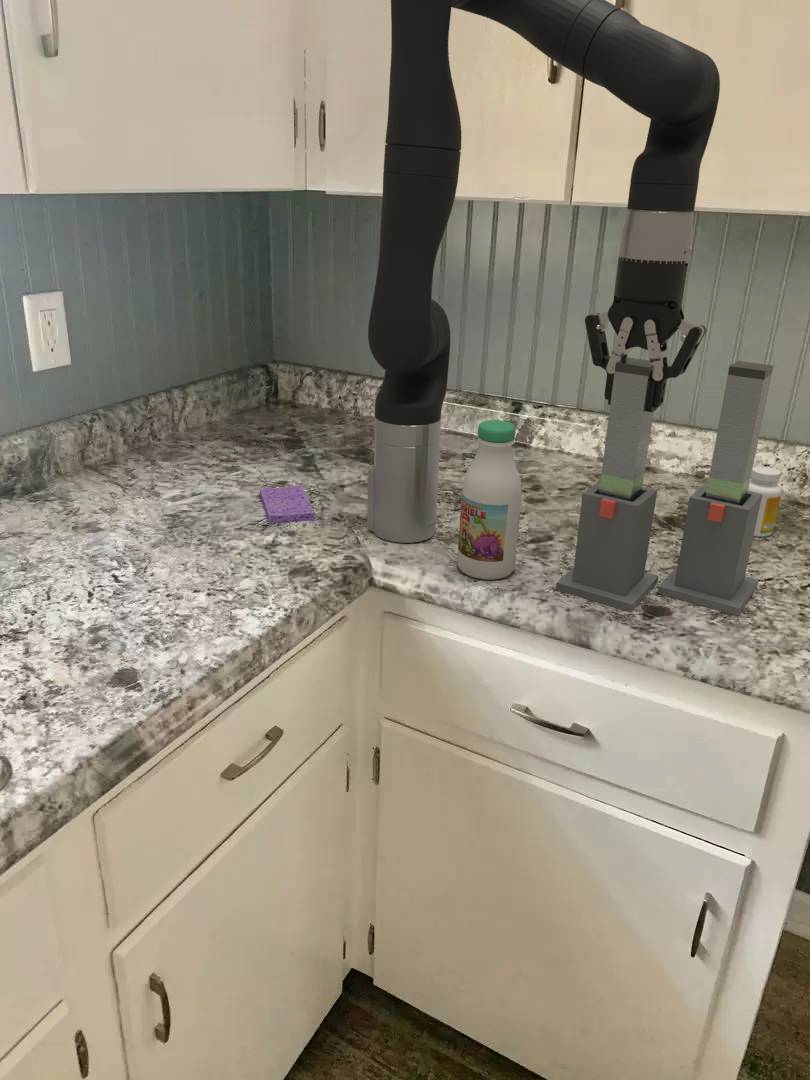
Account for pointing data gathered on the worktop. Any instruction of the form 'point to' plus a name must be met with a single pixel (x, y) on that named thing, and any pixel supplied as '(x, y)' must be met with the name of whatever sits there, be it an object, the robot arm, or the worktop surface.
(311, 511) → the sponges
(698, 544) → the stand
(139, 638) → the worktop surface
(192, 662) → the worktop surface
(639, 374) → the column
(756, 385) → the column
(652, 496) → the stand
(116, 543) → the worktop surface
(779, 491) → the supplement bottle
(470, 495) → the milk bottle
